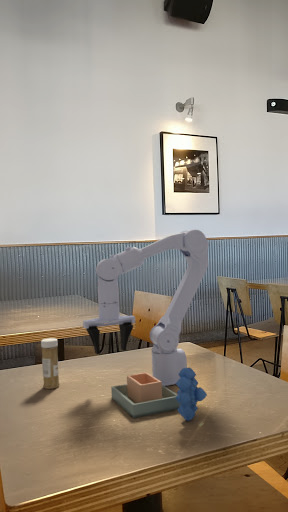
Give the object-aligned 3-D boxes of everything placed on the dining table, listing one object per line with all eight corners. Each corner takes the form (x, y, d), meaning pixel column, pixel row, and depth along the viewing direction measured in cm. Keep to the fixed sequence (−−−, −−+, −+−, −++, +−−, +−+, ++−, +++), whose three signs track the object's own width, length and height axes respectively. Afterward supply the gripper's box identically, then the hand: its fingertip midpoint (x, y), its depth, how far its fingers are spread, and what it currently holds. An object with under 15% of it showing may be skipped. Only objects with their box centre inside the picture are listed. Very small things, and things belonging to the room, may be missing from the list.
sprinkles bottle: (61, 387, 125) (60, 339, 124) (46, 390, 122) (44, 341, 122) (55, 383, 128) (53, 337, 128) (40, 386, 126) (38, 339, 126)
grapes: (203, 433, 91) (201, 374, 91) (171, 429, 93) (169, 373, 93) (212, 412, 102) (210, 360, 102) (183, 409, 104) (181, 358, 104)
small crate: (147, 393, 115) (146, 372, 114) (162, 404, 106) (161, 381, 106) (127, 397, 112) (126, 375, 112) (141, 408, 104) (140, 385, 104)
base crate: (154, 390, 119) (153, 379, 118) (180, 408, 105) (180, 396, 105) (111, 398, 114) (111, 386, 114) (133, 418, 100) (133, 405, 100)
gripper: (87, 306, 116) (89, 358, 116) (138, 301, 121) (140, 351, 122) (80, 303, 122) (82, 352, 123) (129, 299, 128) (131, 346, 128)
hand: (110, 351), depth 123 cm, fingers open, 7 cm apart
